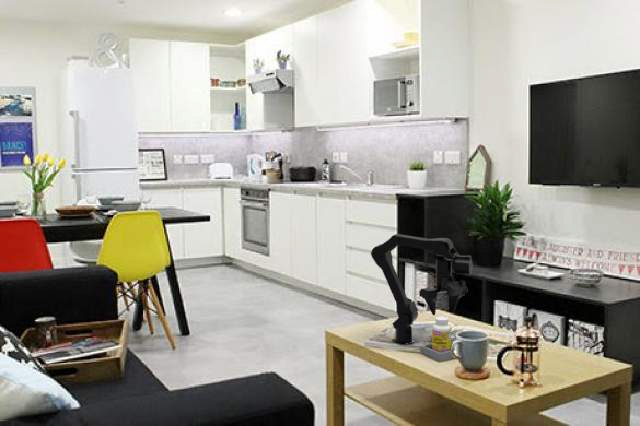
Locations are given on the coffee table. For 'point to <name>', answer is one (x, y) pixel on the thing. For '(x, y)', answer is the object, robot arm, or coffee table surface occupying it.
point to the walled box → (435, 353)
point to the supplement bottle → (441, 335)
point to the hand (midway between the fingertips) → (443, 313)
